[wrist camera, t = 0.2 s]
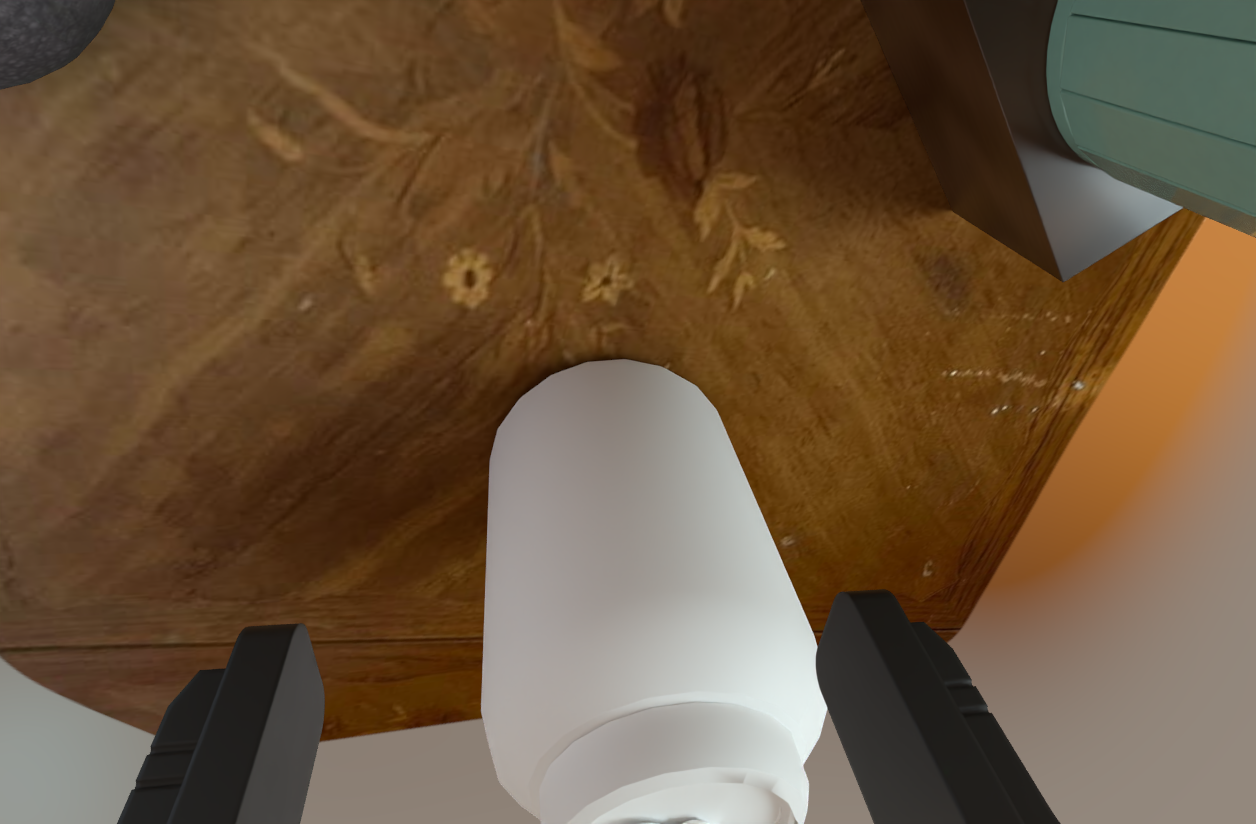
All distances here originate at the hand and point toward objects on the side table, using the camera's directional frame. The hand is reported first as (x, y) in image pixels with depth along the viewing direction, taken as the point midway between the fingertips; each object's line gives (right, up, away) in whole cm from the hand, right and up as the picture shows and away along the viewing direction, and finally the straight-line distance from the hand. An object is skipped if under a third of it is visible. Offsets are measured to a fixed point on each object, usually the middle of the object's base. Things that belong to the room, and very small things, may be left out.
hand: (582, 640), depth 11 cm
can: (0, +1, +27) cm, 27 cm away
